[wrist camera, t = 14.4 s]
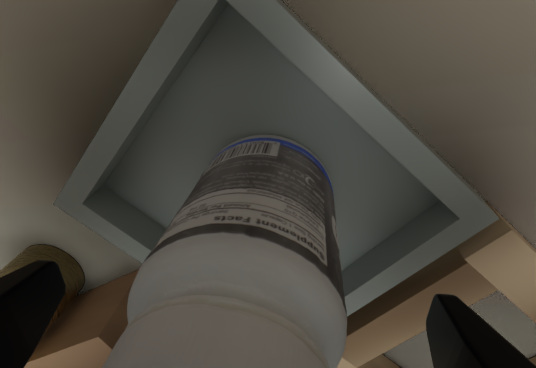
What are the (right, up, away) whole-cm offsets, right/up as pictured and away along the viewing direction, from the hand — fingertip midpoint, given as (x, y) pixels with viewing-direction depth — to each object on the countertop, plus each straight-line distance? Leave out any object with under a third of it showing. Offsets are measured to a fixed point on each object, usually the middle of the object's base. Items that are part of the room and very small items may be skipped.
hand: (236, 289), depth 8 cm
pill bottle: (+1, +2, +5) cm, 5 cm away
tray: (+1, +3, +5) cm, 6 cm away
